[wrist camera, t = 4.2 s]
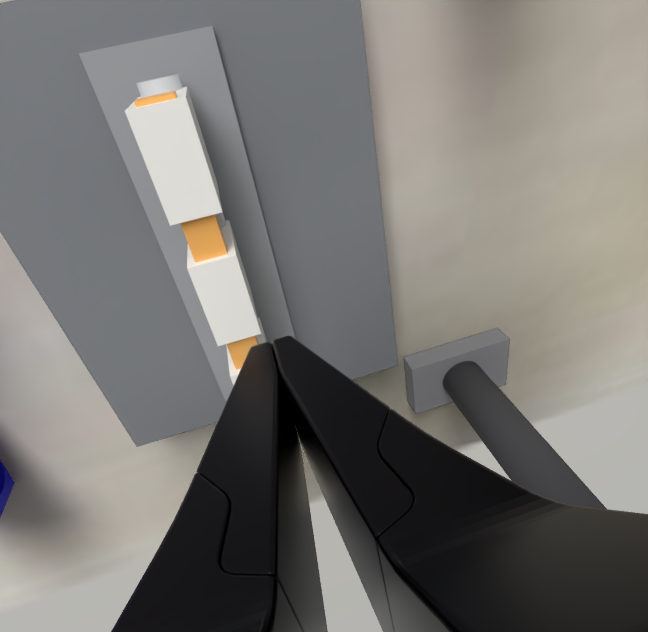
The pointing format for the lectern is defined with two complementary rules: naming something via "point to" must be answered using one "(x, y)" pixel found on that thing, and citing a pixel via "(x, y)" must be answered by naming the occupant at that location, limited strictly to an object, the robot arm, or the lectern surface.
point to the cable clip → (4, 486)
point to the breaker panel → (232, 178)
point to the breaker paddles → (196, 212)
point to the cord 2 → (492, 412)
